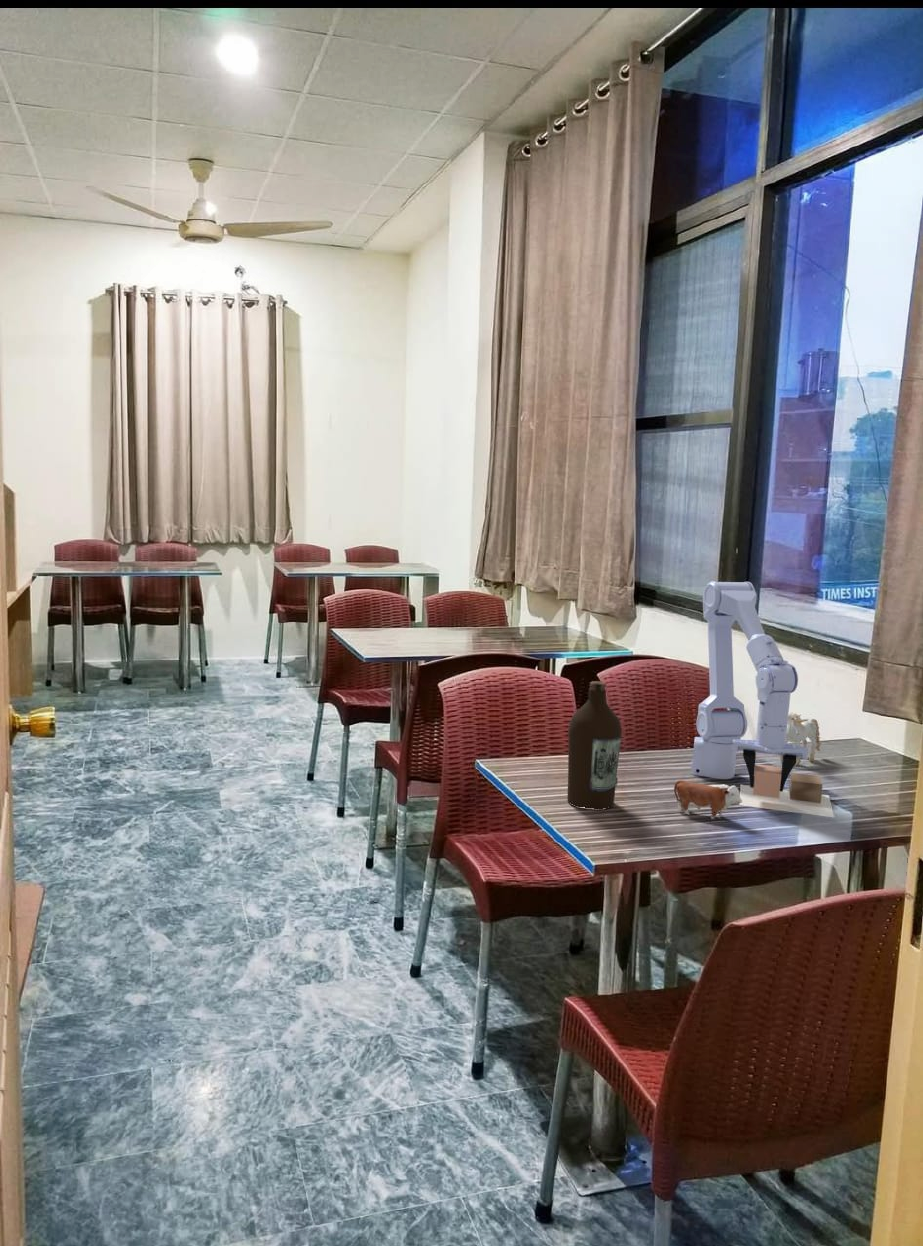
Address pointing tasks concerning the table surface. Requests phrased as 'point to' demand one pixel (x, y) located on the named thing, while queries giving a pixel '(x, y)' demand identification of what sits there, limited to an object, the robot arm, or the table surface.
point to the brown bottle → (593, 752)
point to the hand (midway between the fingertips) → (766, 788)
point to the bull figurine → (706, 796)
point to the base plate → (785, 803)
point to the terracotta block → (767, 781)
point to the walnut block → (805, 787)
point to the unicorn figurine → (802, 734)
